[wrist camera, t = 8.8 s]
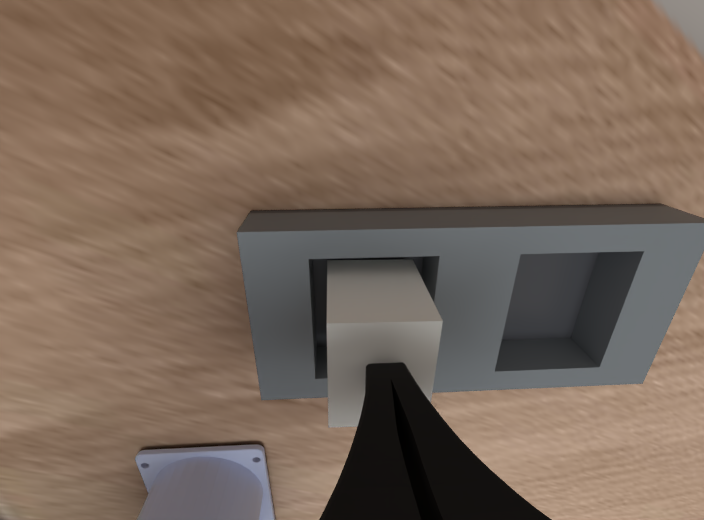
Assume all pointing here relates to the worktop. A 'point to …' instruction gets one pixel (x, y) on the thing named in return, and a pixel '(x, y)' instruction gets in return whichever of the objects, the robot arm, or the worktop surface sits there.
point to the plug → (376, 329)
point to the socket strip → (480, 289)
